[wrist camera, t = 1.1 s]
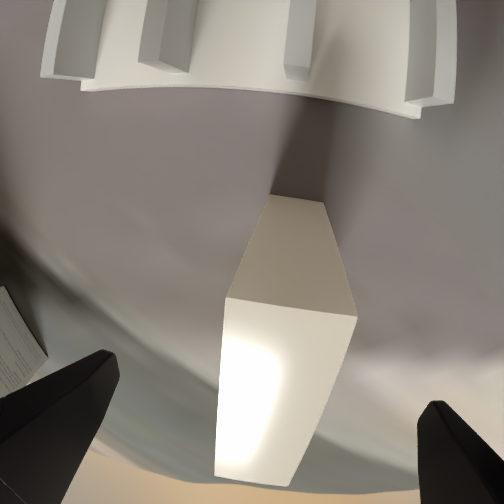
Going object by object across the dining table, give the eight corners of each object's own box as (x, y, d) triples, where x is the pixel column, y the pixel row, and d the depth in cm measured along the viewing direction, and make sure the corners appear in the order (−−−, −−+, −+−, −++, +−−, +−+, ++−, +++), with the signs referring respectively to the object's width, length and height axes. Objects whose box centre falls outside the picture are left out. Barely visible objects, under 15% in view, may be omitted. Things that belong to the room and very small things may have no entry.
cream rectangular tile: (323, 202, 14) (358, 316, 5) (297, 332, 16) (287, 486, 8) (269, 194, 14) (225, 297, 6) (252, 325, 17) (214, 475, 8)
